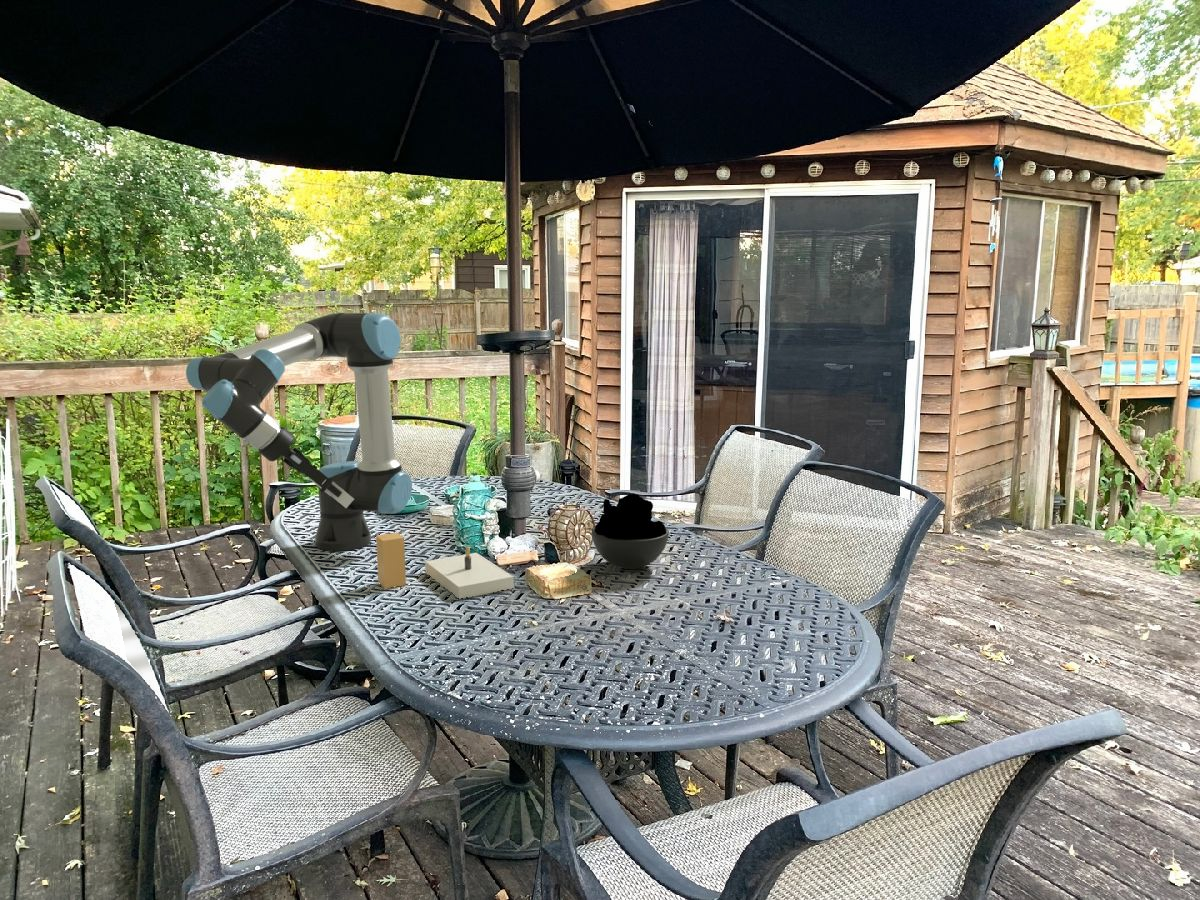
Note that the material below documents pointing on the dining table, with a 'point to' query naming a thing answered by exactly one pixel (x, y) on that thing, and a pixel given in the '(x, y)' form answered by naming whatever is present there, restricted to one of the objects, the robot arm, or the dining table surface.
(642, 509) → the coal bowl
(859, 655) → the dining table surface
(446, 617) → the dining table surface
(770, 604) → the dining table surface
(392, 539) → the tan upright carton
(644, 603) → the dining table surface
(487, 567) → the plate
